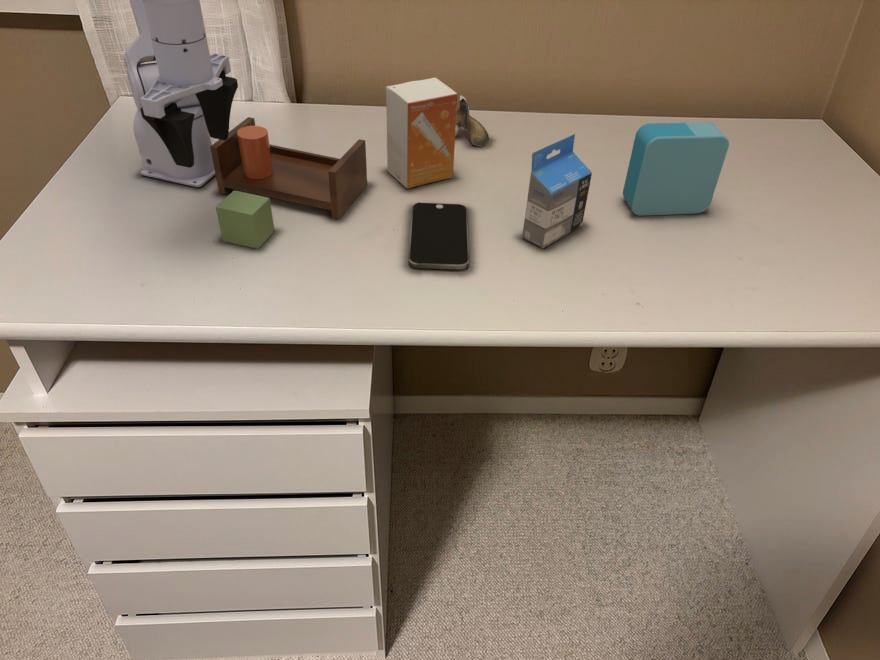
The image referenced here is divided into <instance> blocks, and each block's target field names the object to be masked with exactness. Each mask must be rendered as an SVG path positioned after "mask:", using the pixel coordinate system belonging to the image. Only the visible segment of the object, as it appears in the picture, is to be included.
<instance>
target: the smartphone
mask: <svg viewBox="0 0 880 660" xmlns="http://www.w3.org/2000/svg"><path fill="white" fill-rule="evenodd" d="M468 224H469V223H468V208H467V207H466V206H465V205H463V204H460V203H438V202H437V203H436V202H417V203H415V204H413V205H412V206H411V219H410V231H409V241H408V247H409V248H408V265H409V266H410V267H412V268H416V269H435V270H440V269H441V270H464V269H467V268H468V267H469V265H470V245H469V227H468V226H469V225H468Z"/></svg>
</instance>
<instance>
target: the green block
mask: <svg viewBox="0 0 880 660" xmlns="http://www.w3.org/2000/svg"><path fill="white" fill-rule="evenodd" d="M215 212H216V215H217V220H218V225H219V226H218V227H219V230H220V235H221V239H222V242H225V243H230V244H234V245H239V246H243V247H248V248H252V249H256V250H259V249H260V248H261V246H262V245H263V244H264V243H266V241H267V240H268V239H269V238H270V237H271V236H272V235H273V234H274V233H275V224H274V218H273V212H272V204H271V197H268V196H263V195H259V194H254V193H250V192H245V191H240V190H236V189H233V190H232V192H230V193H229V194H228V195H227V196H226V197H225V198H223V199H222V200H221V201H220V202H219V203H218V204H217V205H216V206H215Z"/></svg>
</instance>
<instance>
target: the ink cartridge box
mask: <svg viewBox="0 0 880 660" xmlns="http://www.w3.org/2000/svg"><path fill="white" fill-rule="evenodd" d="M575 138H576V133H573V134H572V135H569V136H567V137H565V138H563V139H561V140H558V141H555V142H553V143H551V144H549V145H547V146H544V147H543V148H540V149H538V150H536V151H534V152H532V153H531V168H530V169H531V170H530V177H529V185H528V193H527V198H526V199H527V200H526V206H525V213H524V215H525V216H524V220H523V221H524V222H523V228H522V235H521V238H522V239H524V240H525V241H528V242H529V243H531V244H533V245H535V246H537V247H538V248H541V249H545V248H547V247H548V246H550V245H552V244H553V243H555V242H557V241H558V240H560V239H562V238H563V237H565V236H567V235H569V234H570V233H572V232H574V231H575V230H577V229H579V228H580V227H582V226H583V223H584V217H585V211H586V206H587V201H588V196H589V190H590V186H591V179H592V175H593V173H592V170H590V169H589V167H587V165H586V164H585V163H584V162H583V161H582V160H581V158H580V157H578V155H576V154H575V152H574V147H575V146H574V144H575ZM554 150H555V151H556V152H558V151H559V153H557V154H555V155H552V156H551V157H548V156H549V155H551V154H552V153H553V151H554ZM547 157H548V158H547Z"/></svg>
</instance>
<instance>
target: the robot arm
mask: <svg viewBox="0 0 880 660" xmlns="http://www.w3.org/2000/svg"><path fill="white" fill-rule="evenodd" d="M128 2H129V3H130V7H131V10H132V11H131V12H132V14H133V18H134V21H135V24H136V28H137V31H138V34H139V35H138V36H137V38H135V39H134V41H133V42H132V43H131V44H130V45H129V46H128V47H127V49H126V50H125V52H124V57H123V61H124V65H125V69H126V75H127V80H128V83H129V87H130V90H131V94H132V97H133V98H132V99H133V100H134V104H135V106H136V109H137V111H136V112H135V115H134V117H133V133H134V137H135V141H136V144H137V148H138V152H139V155H140V160H141V164H142V167H143V169H142V170H141V171H140V174H141V176H145V177H148V178H153V179H157V180H162V181H167V182H172V183H176V184H181V185H184V186H185V185H186V186H190V187H195V188H200V187H202V186H204V185H205V184H206V183H208V181H209V180H211V179H212V178H213V177H214V176H216V174H215V169H214V164H213V159H212V154H211V149H210V146H211V145H213V144H212V139H215V140H216V139H217V140H219V139H220V140H227V139H228V133H229V132H230V119H231V112H232V106H233V101H234V98H235V95H236V92H237V90H238V88H239V84H238V79H237V78H235V77H232V76H227V75H228V74H230V73H231V72H232V69H231V62H230V57H229V55H225V54H220V53H215V52H214V53H211V54H210V49H209V44H208V43H209V42H208V39H207V38H208V37H207V33H206V27H205V21H204V16H203V12H202V6H201V5H202V4H201V0H128Z"/></svg>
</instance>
